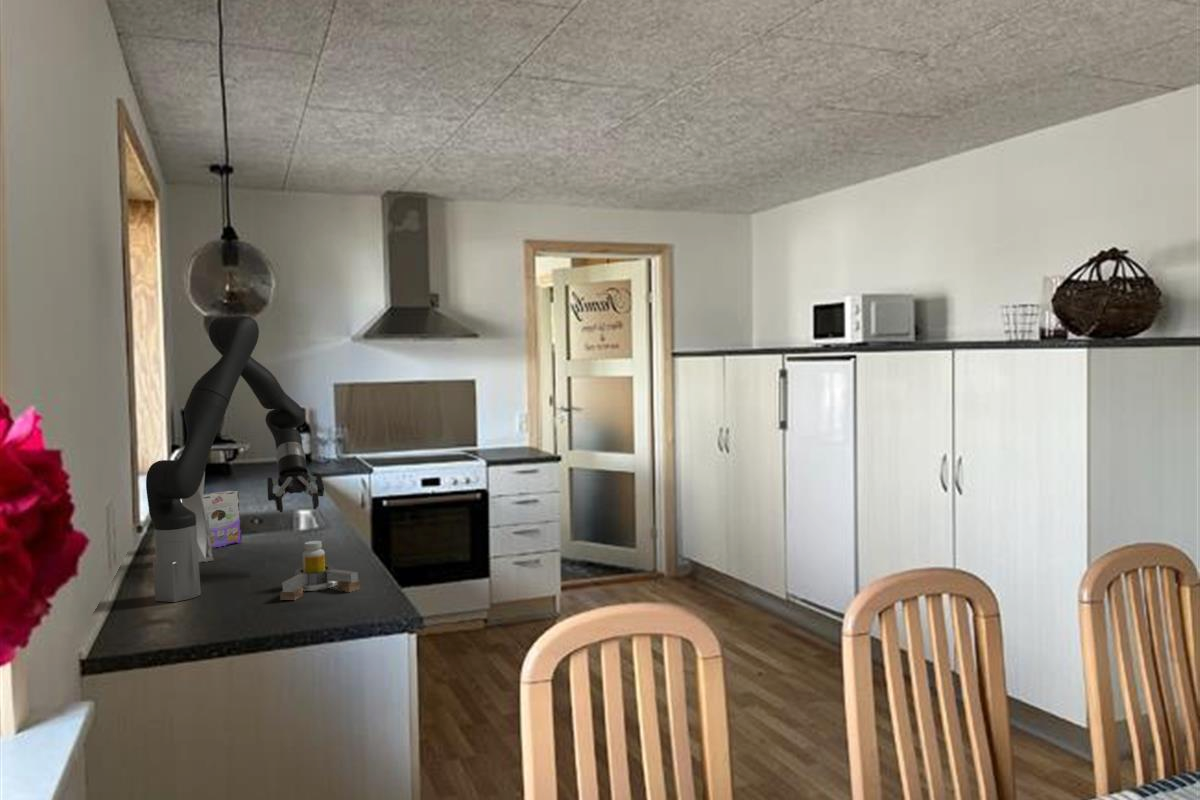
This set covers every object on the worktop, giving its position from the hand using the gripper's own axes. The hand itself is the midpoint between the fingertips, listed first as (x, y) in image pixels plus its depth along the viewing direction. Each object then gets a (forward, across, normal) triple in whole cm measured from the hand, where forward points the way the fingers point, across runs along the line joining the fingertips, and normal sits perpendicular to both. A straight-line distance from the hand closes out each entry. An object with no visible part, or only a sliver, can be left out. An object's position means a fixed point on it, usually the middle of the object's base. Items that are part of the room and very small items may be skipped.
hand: (298, 508), depth 232 cm
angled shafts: (+29, +1, -7) cm, 30 cm away
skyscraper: (-11, -24, +35) cm, 44 cm away
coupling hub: (+23, +1, +1) cm, 23 cm away
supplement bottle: (+22, +1, 0) cm, 23 cm away
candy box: (-25, -19, +49) cm, 58 cm away
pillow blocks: (+30, +1, -6) cm, 31 cm away
